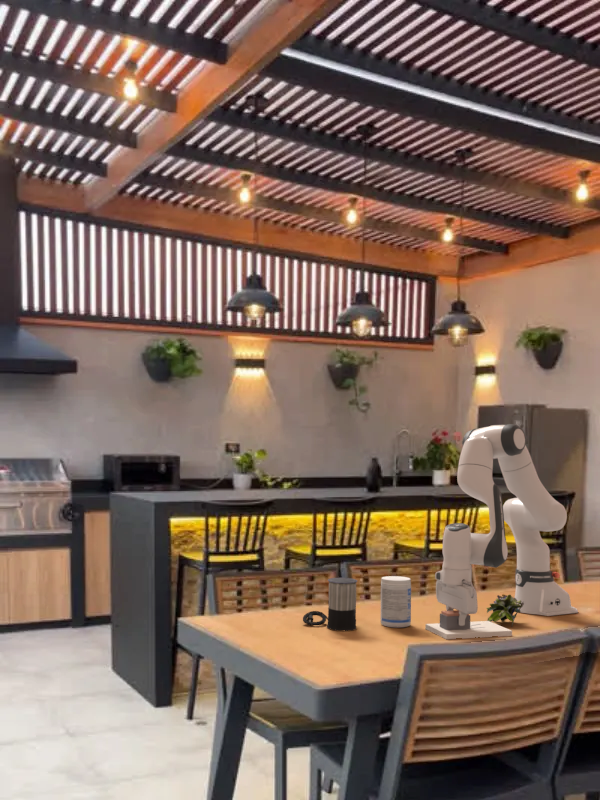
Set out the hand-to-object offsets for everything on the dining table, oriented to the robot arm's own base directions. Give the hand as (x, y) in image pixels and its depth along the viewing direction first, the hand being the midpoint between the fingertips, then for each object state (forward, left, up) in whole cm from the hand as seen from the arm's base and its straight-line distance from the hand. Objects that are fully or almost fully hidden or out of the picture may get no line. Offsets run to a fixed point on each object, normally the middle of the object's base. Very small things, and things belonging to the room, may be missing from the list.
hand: (456, 623), depth 256 cm
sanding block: (+1, 0, -1) cm, 1 cm away
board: (-4, 0, -3) cm, 5 cm away
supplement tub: (+14, -14, -3) cm, 20 cm away
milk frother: (+35, -16, -3) cm, 39 cm away
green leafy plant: (-22, -8, -3) cm, 24 cm away
